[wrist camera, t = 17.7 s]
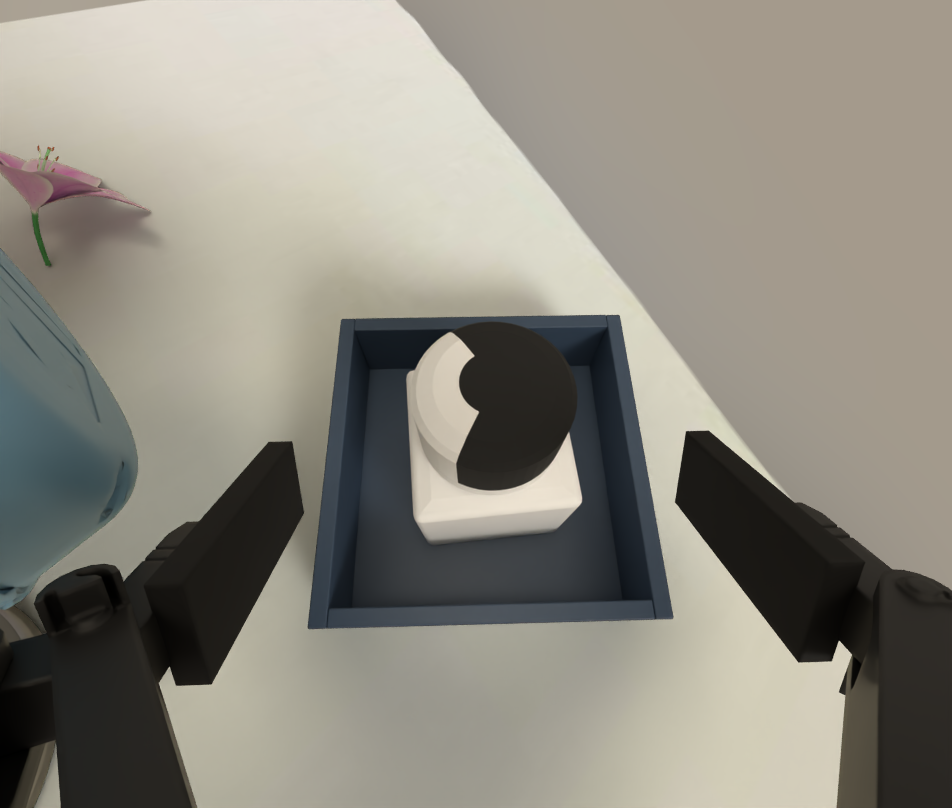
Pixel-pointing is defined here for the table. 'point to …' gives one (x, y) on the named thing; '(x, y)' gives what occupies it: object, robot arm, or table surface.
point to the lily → (50, 185)
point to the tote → (492, 560)
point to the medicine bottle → (491, 435)
